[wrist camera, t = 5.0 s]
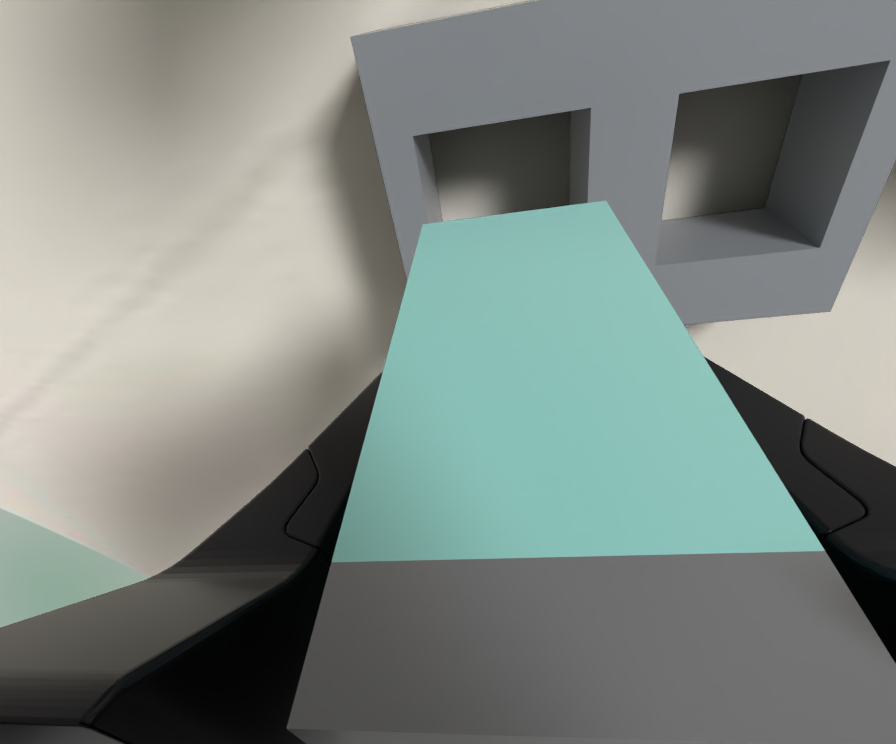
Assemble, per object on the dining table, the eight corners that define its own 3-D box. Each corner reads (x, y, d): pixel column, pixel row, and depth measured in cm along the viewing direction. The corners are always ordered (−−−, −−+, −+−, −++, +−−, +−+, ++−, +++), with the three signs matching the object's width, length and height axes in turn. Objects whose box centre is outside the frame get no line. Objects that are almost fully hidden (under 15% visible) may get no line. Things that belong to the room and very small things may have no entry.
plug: (596, 350, 12) (757, 842, 5) (449, 362, 13) (406, 821, 6) (606, 200, 10) (948, 748, 3) (422, 224, 10) (286, 729, 3)
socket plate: (777, 265, 20) (830, 311, 17) (430, 301, 23) (422, 348, 20) (885, -69, 14) (1003, -90, 11) (375, 30, 16) (350, 36, 13)
